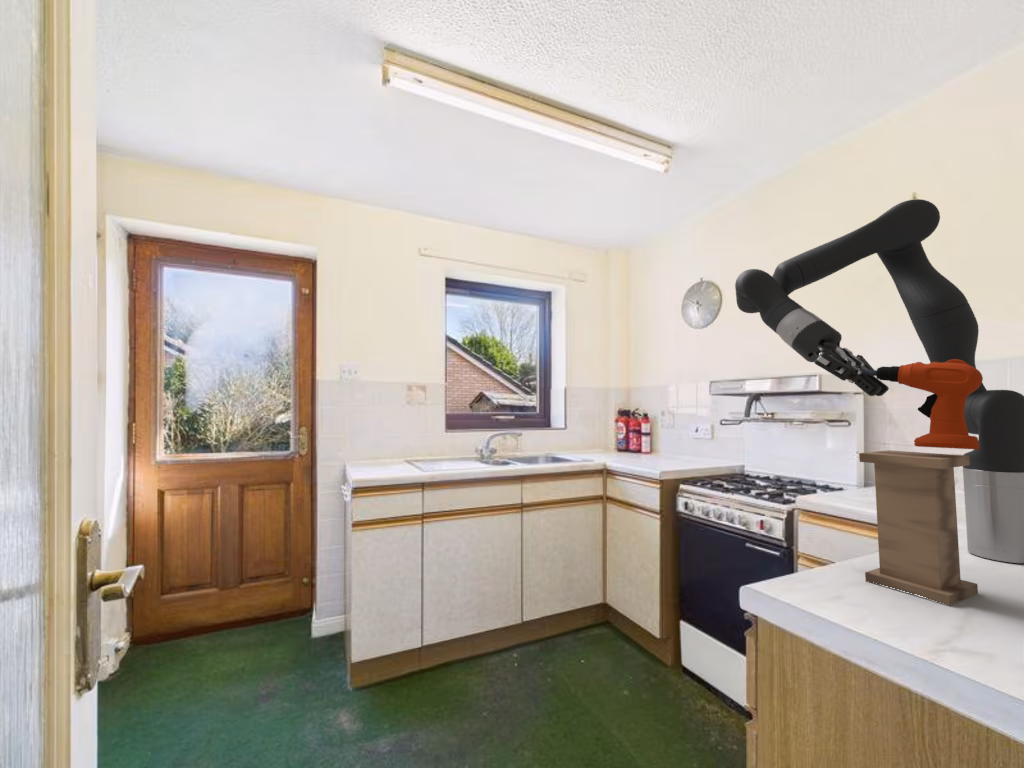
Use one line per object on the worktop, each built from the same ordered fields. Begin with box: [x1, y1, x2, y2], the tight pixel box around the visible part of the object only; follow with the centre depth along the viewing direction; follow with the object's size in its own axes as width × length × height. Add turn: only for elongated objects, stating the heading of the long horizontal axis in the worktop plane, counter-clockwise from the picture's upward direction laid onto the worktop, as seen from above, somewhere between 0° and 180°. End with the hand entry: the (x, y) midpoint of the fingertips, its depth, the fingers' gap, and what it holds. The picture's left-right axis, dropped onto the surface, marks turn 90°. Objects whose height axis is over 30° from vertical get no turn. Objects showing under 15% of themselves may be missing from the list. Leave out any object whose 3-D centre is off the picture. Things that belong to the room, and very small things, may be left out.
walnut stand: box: [858, 450, 979, 606], centre depth 75 cm, size 10×11×22 cm
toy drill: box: [861, 359, 984, 450], centre depth 77 cm, size 5×19×15 cm, turn 39°
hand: (880, 392), depth 80 cm, fingers closed on toy drill
